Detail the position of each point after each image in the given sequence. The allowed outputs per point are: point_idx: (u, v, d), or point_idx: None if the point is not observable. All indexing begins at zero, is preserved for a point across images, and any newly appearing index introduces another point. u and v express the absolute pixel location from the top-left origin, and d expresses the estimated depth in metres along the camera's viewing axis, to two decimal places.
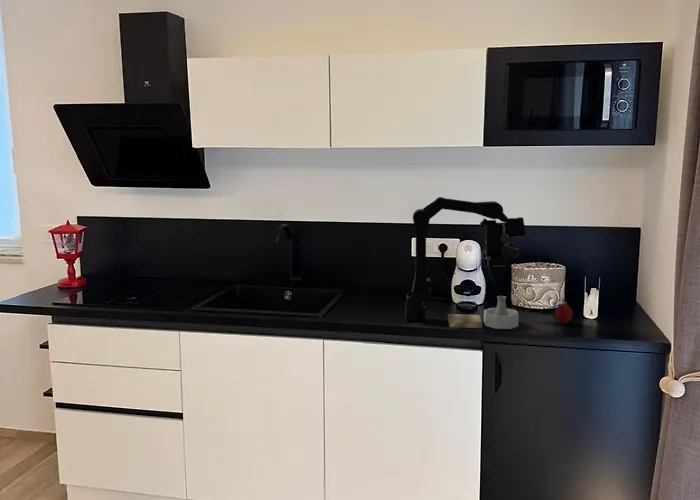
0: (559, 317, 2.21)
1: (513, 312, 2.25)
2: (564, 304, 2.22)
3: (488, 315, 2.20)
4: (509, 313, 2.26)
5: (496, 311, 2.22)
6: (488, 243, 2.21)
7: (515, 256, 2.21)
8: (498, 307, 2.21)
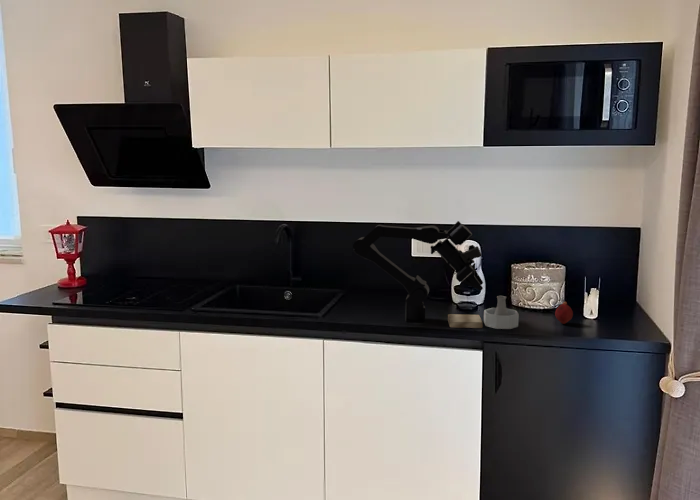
0: (559, 317, 2.21)
1: (513, 312, 2.25)
2: (564, 304, 2.22)
3: (488, 315, 2.20)
4: (509, 313, 2.26)
5: (496, 311, 2.22)
6: (449, 263, 2.21)
7: (478, 255, 2.19)
8: (498, 307, 2.21)
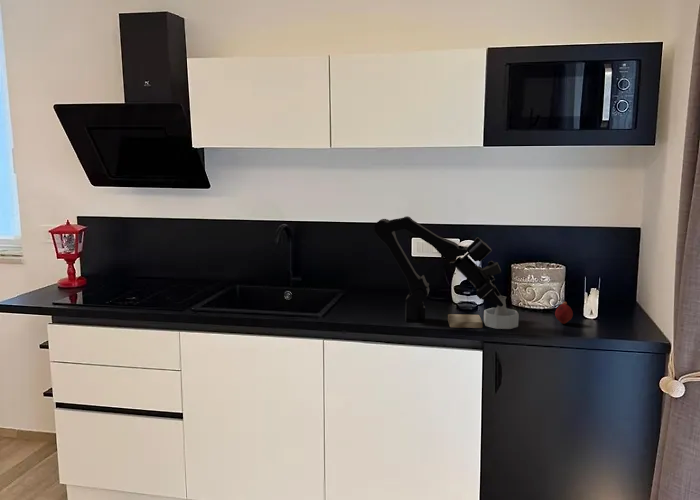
0: (559, 317, 2.21)
1: (513, 312, 2.25)
2: (564, 304, 2.22)
3: (488, 315, 2.20)
4: (509, 313, 2.26)
5: (496, 311, 2.22)
6: (468, 279, 2.21)
7: (498, 271, 2.18)
8: (498, 307, 2.21)
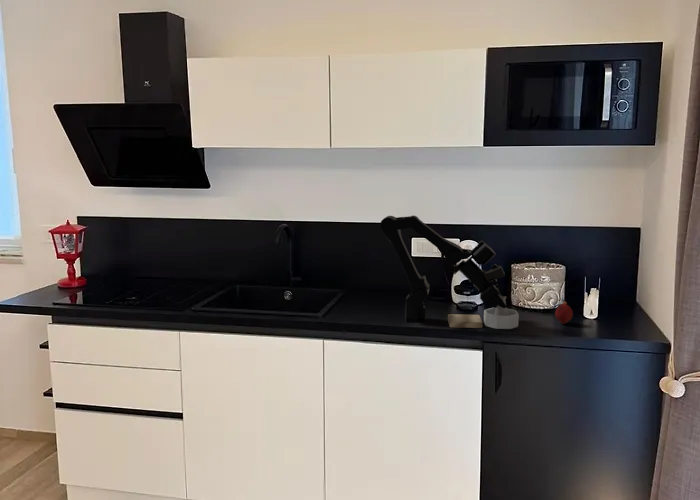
0: (559, 317, 2.21)
1: (513, 312, 2.25)
2: (564, 304, 2.22)
3: (488, 315, 2.20)
4: (509, 313, 2.26)
5: (496, 311, 2.22)
6: (472, 282, 2.21)
7: (502, 275, 2.18)
8: (498, 307, 2.21)
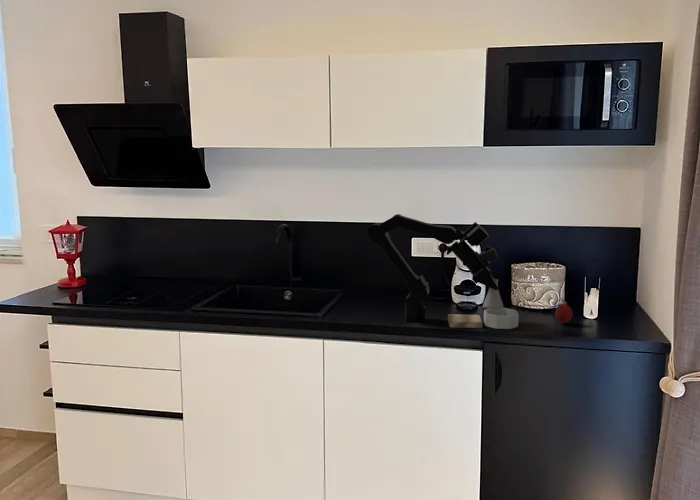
0: (559, 317, 2.21)
1: (513, 312, 2.25)
2: (564, 304, 2.22)
3: (488, 315, 2.20)
4: (509, 313, 2.26)
5: (488, 294, 2.21)
6: (465, 264, 2.20)
7: (495, 256, 2.17)
8: (490, 290, 2.21)
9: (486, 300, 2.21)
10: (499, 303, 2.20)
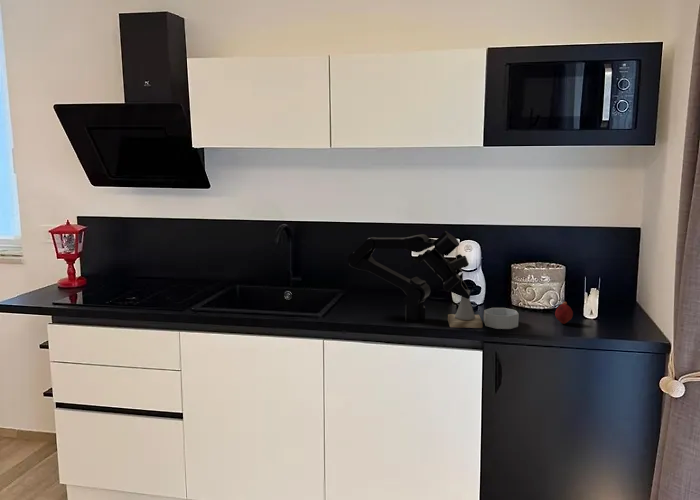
0: (559, 317, 2.21)
1: (513, 312, 2.25)
2: (564, 304, 2.22)
3: (488, 315, 2.20)
4: (509, 313, 2.26)
5: (460, 305, 2.22)
6: (436, 272, 2.21)
7: (465, 264, 2.19)
8: (462, 301, 2.22)
9: (458, 311, 2.23)
10: (471, 314, 2.21)
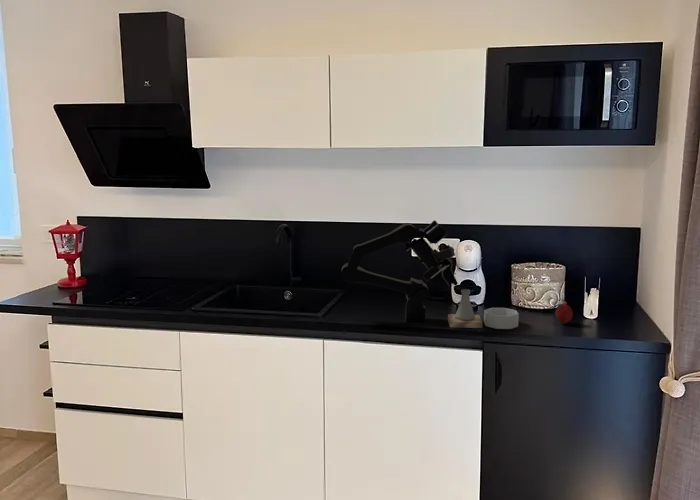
0: (559, 317, 2.21)
1: (513, 312, 2.25)
2: (564, 304, 2.22)
3: (488, 315, 2.20)
4: (509, 313, 2.26)
5: (460, 305, 2.22)
6: (421, 261, 2.23)
7: (449, 255, 2.19)
8: (462, 301, 2.22)
9: (458, 311, 2.23)
10: (471, 314, 2.21)
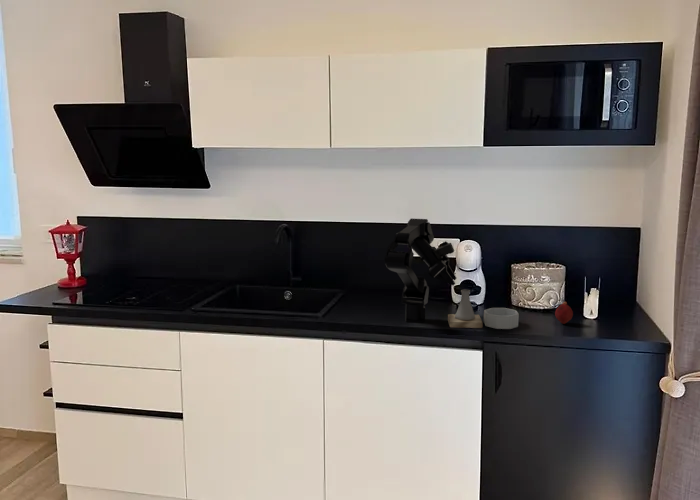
0: (559, 317, 2.21)
1: (513, 312, 2.25)
2: (564, 304, 2.22)
3: (488, 315, 2.20)
4: (509, 313, 2.26)
5: (460, 305, 2.22)
6: (422, 259, 2.28)
7: (451, 251, 2.25)
8: (462, 301, 2.22)
9: (458, 311, 2.23)
10: (471, 314, 2.21)
